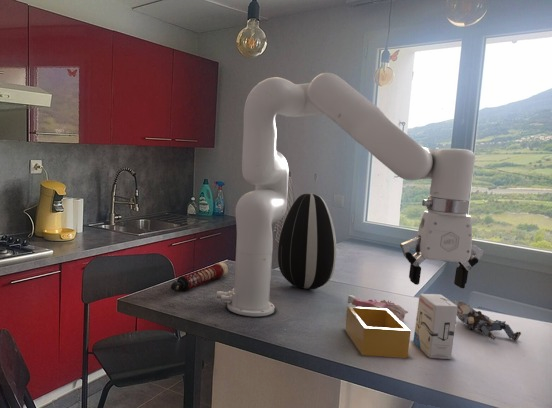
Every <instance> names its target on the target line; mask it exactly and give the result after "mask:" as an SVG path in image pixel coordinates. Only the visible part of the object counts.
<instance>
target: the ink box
mask: <svg viewBox="0 0 552 408" xmlns="http://www.w3.org/2000/svg"><path fill="white" fill-rule="evenodd" d="M417 303H418V304H417V311H416V319H415V326H414V334H413V339H412V340H413V343H414V344H415V345H416V347H417V348H419V349H420V350H421V351H422V352H423V353H424V354H425V355H426V357H428V358H430V359H441V360H451V359H452V353H453V345H454V338H455V331H456V323H457V317H458V316H457V309H458V307H457V305H455V304H454V302H452V301H451V300H450V299H449V298H447V297H445V296H444V295H443V294H438V293H419V295H418V302H417Z"/></svg>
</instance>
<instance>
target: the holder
mask: <svg viewBox="0 0 552 408" xmlns="http://www.w3.org/2000/svg"><path fill="white" fill-rule="evenodd" d="M345 318H346V319H345V328H344V329H345V330H344V331H345V332H346V334H347V335H348V337H349V338H350V340H351V341H352V342H353V344H354V346H355V347H356V349H357V350H358V352H359V353H360V355H361V356H367V357H368V356H370V357H383V358H398V359H399V358H401V359H408V358H409V349H410V340H411V329H410V328H408V326H407V325H405V324H404V322H401V321H400V320H399V319H398V318H397V317H396V316H395V315H393V314H392V313H391V312H390V311H389V310H388V309H381V308H365V307H357V306H347V307H346V317H345Z"/></svg>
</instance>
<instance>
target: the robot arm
mask: <svg viewBox="0 0 552 408" xmlns="http://www.w3.org/2000/svg"><path fill="white" fill-rule="evenodd" d="M277 115H280V116H283V117H287V118H298V117H310V116H320V115H325V116H326V117H327V118H328V119H330V120H331V121H332V122H334V124H336V125H337V126H338V127H340V129H342V130H343V131H344V132H345V133H347V134H348V135H349V136H350V138H352V139H353V140H354V141H355V142H356V143H358V144H359V145H361V146H363V148H364V149H365V150H367V152H369V153H370V154H371V155H372V156H373V157H374V158H375V159H377V160H378V161H379V162H380V163H381V164H382V165H384V166H385V167H386V168H387V169H389V170H390V171H391V172H392V173H393V174H395V175H396V176H398V177H399V178H400V179H403V180H406V181H417V180H418V181H419V180H431V181H430V188H429V196H428V197H427V198H426V199H423V200H422V202H421V205H422V206H423V207H426V209H427V210H424V212H423V214H422V217H421V219H420V223H419V226H418V231H417V234H416V237H413V238H411V239H409V240H406V241H403V242H401V243H400V248H401V251H402V253H403V257H404V258H405V259H406V260H407V261H408V263H409V264H410V265H409V271H408V279H409V281H410V283H413V285H417V286H418V285H419V284H420V281H421V274H422V267H421V266H420V265H421V264H422V263H423V262H424V261H425V260H429V261H441V262H451V263H452V262H453V263H454V262H455V263H457V264H458V266H456V268H455V275H454V282H453V284H454V285H455V286H457V287H458V288H460V289H465V287H466V284H467V282H468V276H469V272H470V271H471V270H472V268H473V267H474V266H475V265H477V264H478V263H479V260H480V259H481V258H482V256H483V255H484V253H485V252H484V250H483V249H481V248H480V247H478V246H477V245H475V244H473V223H472V215H469V214H468V210H469V202H470V196H471V188H472V182H473V174H474V168H475V161H476V155H475V153H474V152H473V151H472V150H470V149H465V148H445V147H444V148H439V149H437V148H430V147H424V146H423V145H421V144H420V143H418V141H416V140H414V139H413V138H412V137H410V135H408V134H407V133H406V132H404V131H403V130H402V129H401V128H400V127H398V126H397V125H396V124H394V123H393V122H392V121H391V120H390V119H389V118H388V117H387V116H386V115H385V113H384V112H383V110H381V108H379V107H378V106H377V105H376V104H375V103H373V102H372V101H370V100H369V99H368V98H367V97H366V96H364V95H363V94H362V93H361V92H359V91H358V90H356V89H355V88H354V87H353V86H352V85H350V84H349V83H347V81H346V80H345V79H343V78H342V77H340V75H337V74H335V73H332V72H322V73H320V74H318V75H316V76H315V77H313V79H312V80H311V81H310V82H307V83H299V84H296V83H294V82H292V81H291V80H289V79H286V78H284V77H283V78H282V77H277V76H274V77H268V78H266V79H264V80H262V81H260V82H258V83H257V84H256V85H255V86H253V88H252V89H251V90H250V92H249V93H248V95H247V97H246V100H245V103H244V107H243V134H242V151H241V153H242V155H241V174H242V177H243V179H244V180H245V181H246V182H247V183H248V184H250V185H254V186H255V187H254V190H251V191H248V192H247V193H246V192H245V193H244V194H243V195H242V196H241V197H240V198H239V199H238V201H237V203H236V205H235V212H234V213H235V214H234V215H235V225H236V245H235V263H234V264H235V265H234V280H233V287H232V288H231V290H228V291H223V290H222V291H221V290H217V291H216V299H219V300H220V301H222V302H226V304H227V305H226V308H227V310H228V311H230V312H232V313H234V314H237V315H240V316H244V317H253V318H254V317H267V316H270V315H272V314H274V312H275V305H274V304H273V303H272V302H271V301H270V294H271V293H270V292H271V278H272V277H271V276H272V266H273V265H272V263H273V262H272V261H273V251H274V250H273V249H274V237H273V236H274V235H273V228H272V227H273V226H272V225H273V224H275V223H277V222H279V221H281V220H282V219H283V217H284V216H285V215H286V212H287V207H288V196H289V164H288V161H287V159H286V157H285V156H284V155H283V153H282V152H280V151H278V150H277V133H278V132H277V126H276V117H277ZM413 247H414V251H415V253H414V254H412V252H411V248H413Z"/></svg>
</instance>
